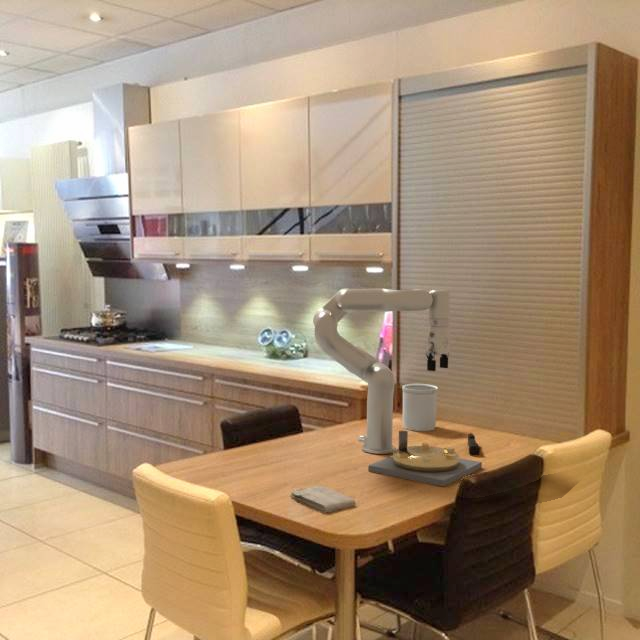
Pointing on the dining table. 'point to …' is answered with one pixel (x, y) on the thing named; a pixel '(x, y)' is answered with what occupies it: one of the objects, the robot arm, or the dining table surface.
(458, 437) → the dining table surface
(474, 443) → the hand tool
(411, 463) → the beige piece
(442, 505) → the dining table surface
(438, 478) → the base plate
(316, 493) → the washcloth
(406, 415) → the utensil holder
